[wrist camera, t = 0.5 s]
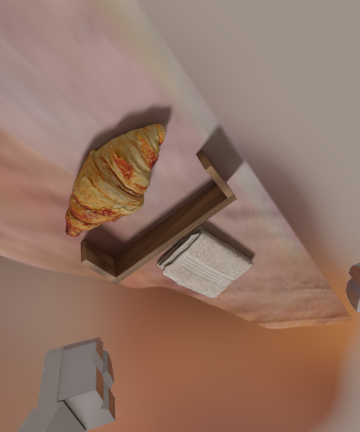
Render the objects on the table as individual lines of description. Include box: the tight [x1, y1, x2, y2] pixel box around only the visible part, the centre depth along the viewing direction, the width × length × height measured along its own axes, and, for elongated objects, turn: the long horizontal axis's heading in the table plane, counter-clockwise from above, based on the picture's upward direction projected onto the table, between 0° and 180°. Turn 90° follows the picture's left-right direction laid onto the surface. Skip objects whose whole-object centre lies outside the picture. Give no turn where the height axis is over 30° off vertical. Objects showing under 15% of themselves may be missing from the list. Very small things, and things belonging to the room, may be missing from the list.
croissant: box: [65, 124, 165, 237], centre depth 45 cm, size 21×10×8 cm, turn 137°
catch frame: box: [81, 151, 237, 284], centre depth 51 cm, size 8×24×4 cm, turn 125°
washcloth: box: [157, 226, 253, 298], centre depth 63 cm, size 12×18×3 cm, turn 46°
